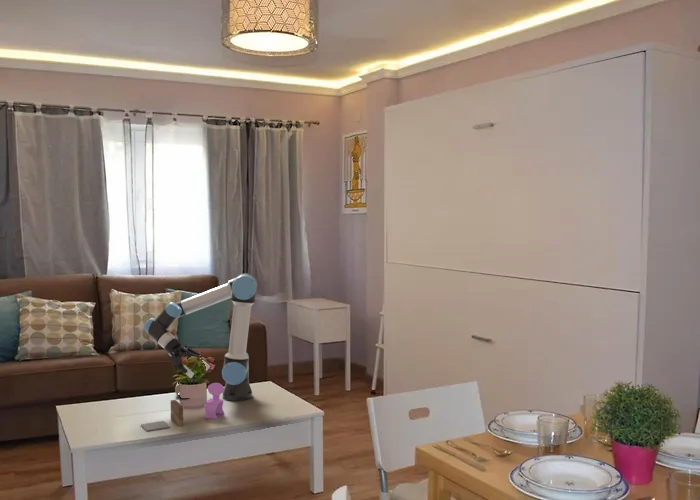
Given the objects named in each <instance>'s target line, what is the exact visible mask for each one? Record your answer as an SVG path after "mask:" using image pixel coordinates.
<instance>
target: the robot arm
mask: <svg viewBox="0 0 700 500" xmlns="http://www.w3.org/2000/svg"><path fill="white" fill-rule="evenodd" d="M258 284H259V283H258V280H257V278H256V277H255V276H254V275H253V274H252V273H247V272H246V273H245V272H244V273H240V274H239V275H237V276H236V277H235V278H232V279H230V280H228V282H227V283H225V284H222V285H219V286H217V287H214V288H211V289H208V290H206V291H203V292H201V293H198V294H196V295H193V296H190V297H188V298H185V299H182V300H180V301H177V302H172V301H171V302H169V303H168V304H167V305H166V306H165V308H164V309H163V310H162V311H161V313H160V314H159V315H158V316H157V317H156V318H154V317H151V318H149V319H148V320H147V321H145V324H144V325H143V330H144V332H146V333H147V335H148V336H149V337H151V338H152V339H153V340H154V341H155V342H156V343H157V344H158V345H159V346H160V347H161V348H163V349H164V351H166V353H167V357H168V358H169V359H170V361H171V362H172V365H173V368H174V369H175V370H177V371H179V372H180V371H182V372H183V373H184V374H185V375H186V376H187V377H188V378H189V379H192V378H193V377H194V375H195V373H194V372H193V371H192V370H191V369H190V368H189V367H187V365H186V364H184V365H183V363H184V362H183V358H189V357H191V356H196V357H199V355H201V356H200V357H201V358H203V356H204V355H203V354H202V353H200V352H198V351H197V350H195V349H193V348H191V347H190V346H188V345H187V344H186V345H184V347H183V346H182V343H181V341H179V340H178V338H176V337H175V336H174V335H173V334H172V333H171V332H170V331H169V330H168V329H169V328H170V327H171V326H172V324H173V323H174V322H175V321H176V320H177V319H178V318H181V317H184V316H186V315H189V314H192V313H195V312H197V311H199V310H202V309H206V308H208V307H210V306H213V305H216V304H218V303H221V302H224V301H226V300H228V299H229V300H231V303H233V309H232V318H231V326H230V334H229V342H228V352H227V353H225V354H224V359H223V367H222V370H221V376H222V379H223V380H224V382H225V385H224V386H223V387H224V392H223V393H222V399H223V400H225V401H246V400H249V399H252V398H253V391H252V387H251V385H250V381H249V379H250V377H249V375H250V373H249V371H250V368H249V366H250V365H249V364H250V363H249V362H250V361H249V360H250V357H249V354H248V352H247V348H248V347H247V346H248V338H249V328H250V321H251V311H252V306H253V305H254V304H255V303H256V297H257V295H256V294H257V290H258V287H259V286H258ZM201 358H200V359H201ZM202 361H203V362H204V364H205V366H206V370H205V371H206V372H207V371H208V370H209V369H210V367H211V365H209V364H208V362H207V361H205V360H204V359H203V360H202Z"/></svg>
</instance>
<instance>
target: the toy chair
mask: <svg viewBox="0 0 700 500" xmlns="http://www.w3.org/2000/svg"><path fill="white" fill-rule="evenodd" d="M224 387H225V386H224V385H223V384H221V383H219V382H213V383H210V384H209V385H208V386H207V392H208V393H209V394H210V395H212V398H209V399H208V400H205V401H204V409H205V416H204V419H213V420H218V417H217V414H220V415H225V414H226V413H225V411H224V410H223V408H224V407H223V405H224V399H223V398H220V395H222V394H223V392H224Z"/></svg>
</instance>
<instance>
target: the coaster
mask: <svg viewBox="0 0 700 500" xmlns="http://www.w3.org/2000/svg"><path fill="white" fill-rule="evenodd" d="M140 426H141V428H143V429H144V430H145V431H146V432H153V431H159V430H165V429H171V426H170V425H169V424H168V423H167V422H165V421H164V420H160V421H155V422H154V421H153V422H146V423H141V424H140Z"/></svg>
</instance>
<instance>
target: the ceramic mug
mask: <svg viewBox="0 0 700 500" xmlns="http://www.w3.org/2000/svg"><path fill="white" fill-rule="evenodd" d="M174 389H175V390H174V392H175V395H176V396H178V393H179V384H178V382H177V383H176V385H175V388H174Z"/></svg>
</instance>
